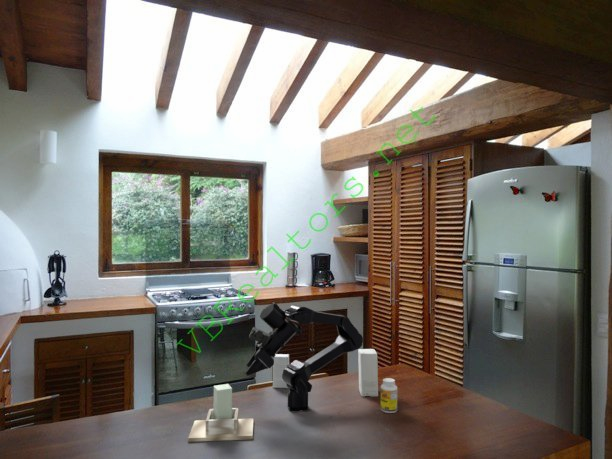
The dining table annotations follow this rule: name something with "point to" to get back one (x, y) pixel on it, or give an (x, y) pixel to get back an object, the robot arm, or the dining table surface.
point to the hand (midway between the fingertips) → (246, 370)
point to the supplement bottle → (389, 396)
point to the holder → (221, 428)
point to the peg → (222, 402)
